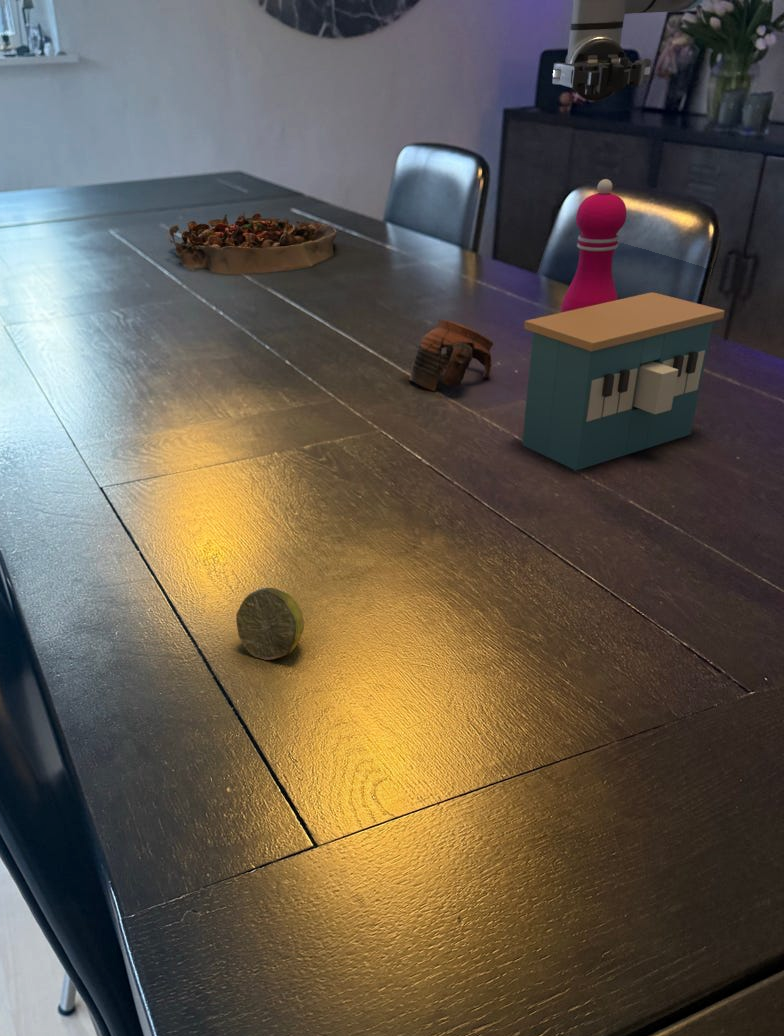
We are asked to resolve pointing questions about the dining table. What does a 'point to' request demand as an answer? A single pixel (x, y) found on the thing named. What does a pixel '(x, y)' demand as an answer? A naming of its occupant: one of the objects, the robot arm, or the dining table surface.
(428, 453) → the dining table surface
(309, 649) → the dining table surface
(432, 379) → the rusty brown helmet
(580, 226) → the pepper mill
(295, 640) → the lime
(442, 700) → the dining table surface
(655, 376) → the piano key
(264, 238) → the food dish
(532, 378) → the toy piano
